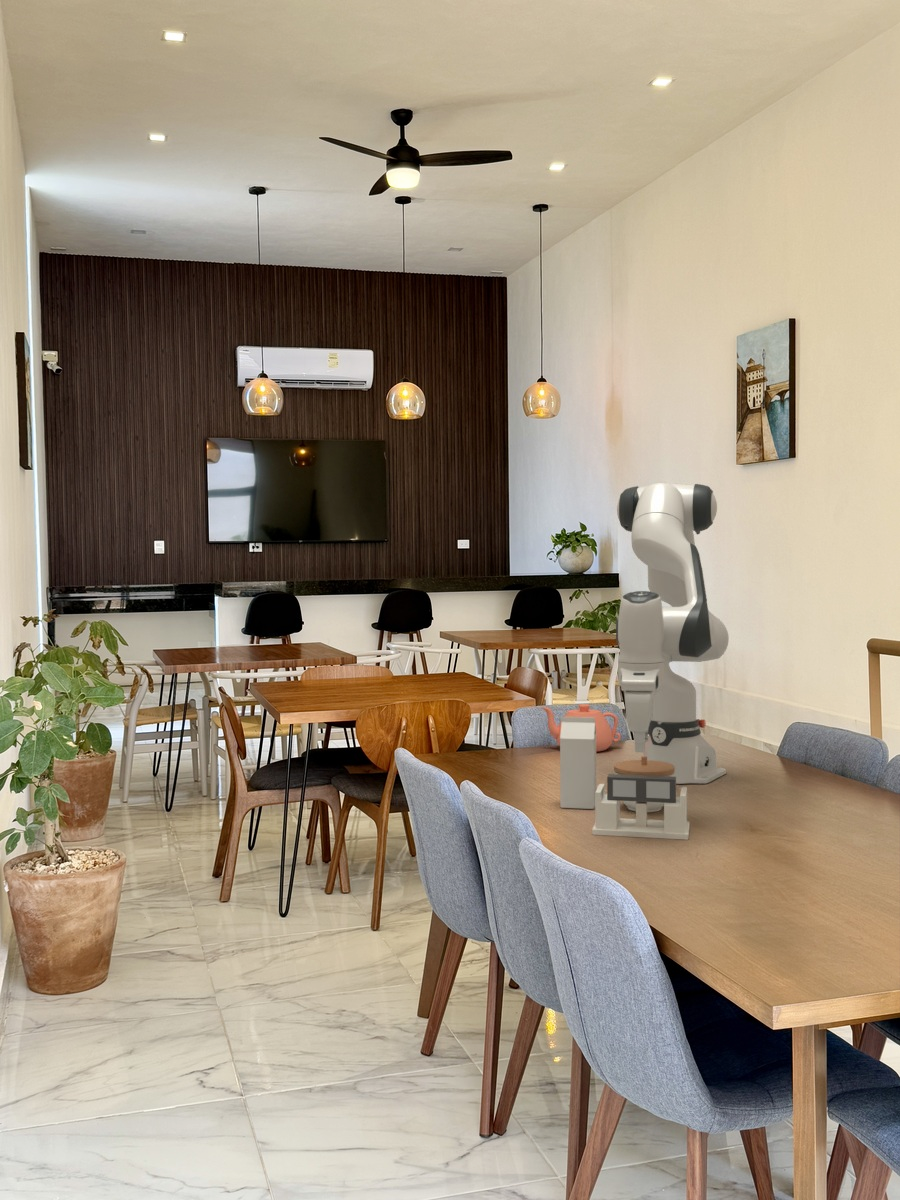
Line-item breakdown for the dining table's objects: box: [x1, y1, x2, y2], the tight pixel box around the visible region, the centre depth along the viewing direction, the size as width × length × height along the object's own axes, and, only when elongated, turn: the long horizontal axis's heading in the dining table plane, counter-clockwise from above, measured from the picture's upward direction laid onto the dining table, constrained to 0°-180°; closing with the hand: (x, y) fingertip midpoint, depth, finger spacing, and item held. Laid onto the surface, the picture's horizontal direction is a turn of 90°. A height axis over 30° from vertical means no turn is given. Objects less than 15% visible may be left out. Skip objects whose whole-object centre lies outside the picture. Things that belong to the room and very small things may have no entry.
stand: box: [591, 783, 691, 841], centre depth 211 cm, size 18×10×8 cm, turn 76°
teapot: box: [540, 703, 622, 753], centre depth 299 cm, size 22×16×12 cm
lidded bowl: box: [613, 755, 675, 813], centre depth 229 cm, size 13×13×11 cm
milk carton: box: [559, 716, 597, 810], centre depth 232 cm, size 7×7×19 cm
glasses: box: [606, 773, 677, 803], centre depth 211 cm, size 13×3×4 cm, turn 76°
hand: (641, 746), depth 211 cm, fingers open, 8 cm apart
